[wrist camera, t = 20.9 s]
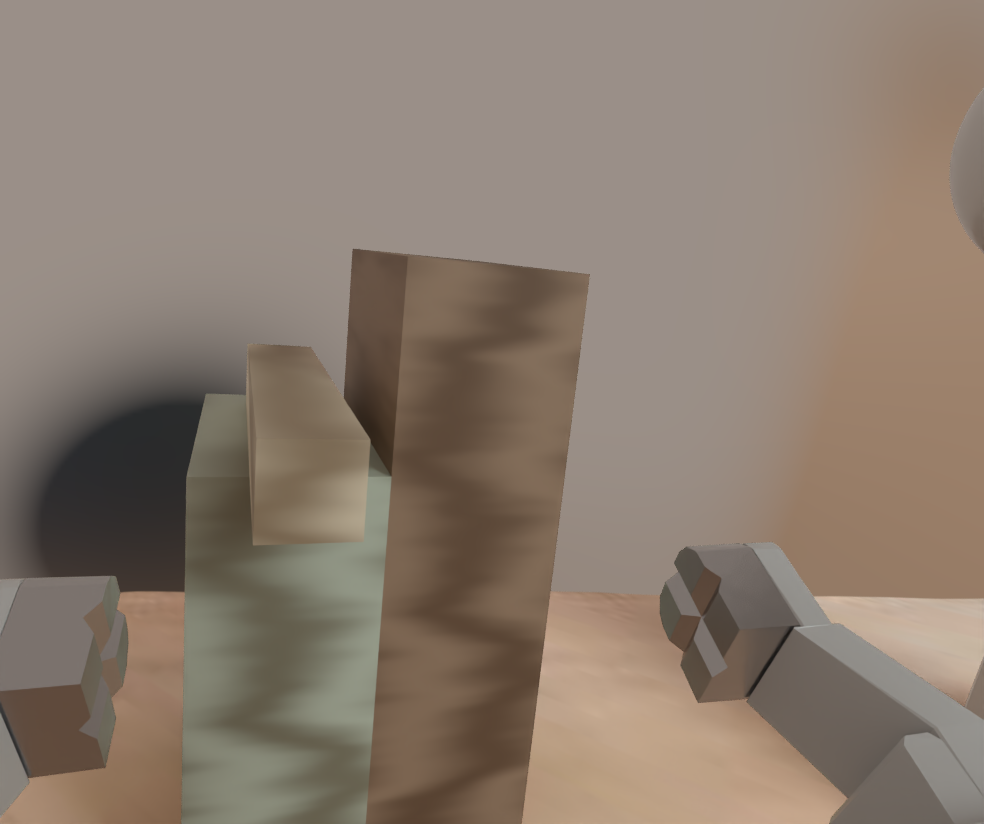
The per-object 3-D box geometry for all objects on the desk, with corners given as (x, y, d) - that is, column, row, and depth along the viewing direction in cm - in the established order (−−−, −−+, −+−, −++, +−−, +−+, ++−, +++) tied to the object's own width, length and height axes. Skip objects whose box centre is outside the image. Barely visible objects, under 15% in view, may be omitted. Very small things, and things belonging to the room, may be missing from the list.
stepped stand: (440, 683, 46) (479, 261, 41) (517, 859, 33) (589, 274, 28) (199, 706, 41) (209, 234, 36) (179, 920, 28) (190, 234, 23)
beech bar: (308, 405, 37) (310, 347, 37) (363, 542, 21) (370, 439, 20) (245, 403, 36) (247, 343, 36) (252, 545, 20) (256, 438, 19)
